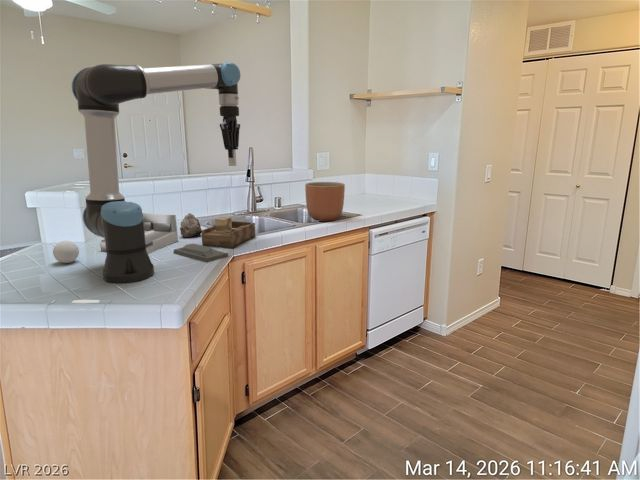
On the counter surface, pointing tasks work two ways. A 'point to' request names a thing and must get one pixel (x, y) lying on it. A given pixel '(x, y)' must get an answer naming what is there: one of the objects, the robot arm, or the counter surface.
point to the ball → (66, 251)
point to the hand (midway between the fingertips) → (232, 165)
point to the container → (156, 231)
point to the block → (223, 224)
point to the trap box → (228, 235)
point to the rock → (190, 226)
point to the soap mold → (200, 253)
